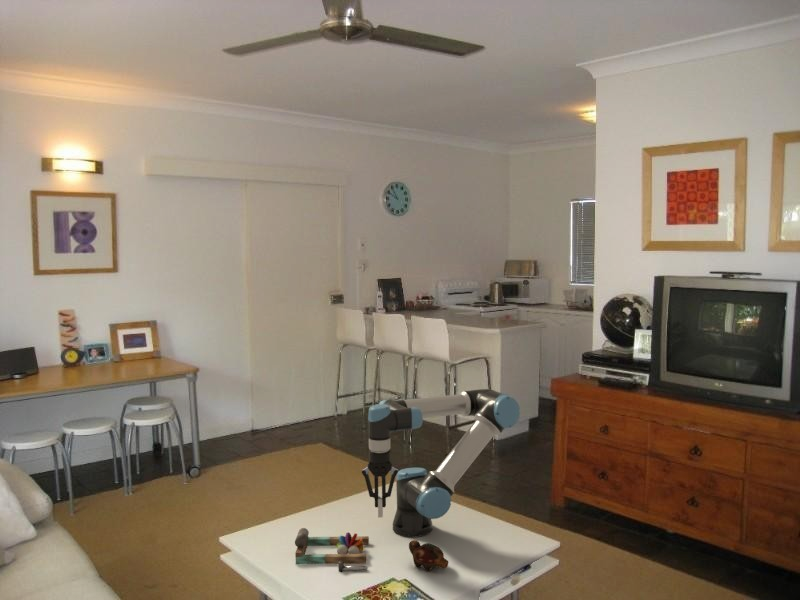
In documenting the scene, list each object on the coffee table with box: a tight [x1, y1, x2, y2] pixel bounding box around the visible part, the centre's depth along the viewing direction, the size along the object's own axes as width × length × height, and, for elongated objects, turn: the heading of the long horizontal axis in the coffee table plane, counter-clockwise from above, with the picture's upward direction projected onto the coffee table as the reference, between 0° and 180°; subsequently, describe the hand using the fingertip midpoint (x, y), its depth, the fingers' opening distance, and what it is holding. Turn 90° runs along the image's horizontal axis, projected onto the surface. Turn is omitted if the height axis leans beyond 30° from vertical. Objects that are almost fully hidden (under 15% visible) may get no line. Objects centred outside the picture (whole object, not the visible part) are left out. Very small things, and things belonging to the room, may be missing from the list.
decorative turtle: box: [408, 539, 449, 572], centre depth 224 cm, size 10×15×8 cm, turn 60°
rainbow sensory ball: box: [336, 532, 365, 554], centre depth 235 cm, size 8×10×7 cm
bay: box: [294, 527, 370, 565], centre depth 235 cm, size 25×16×8 cm, turn 89°
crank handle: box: [337, 561, 369, 573], centre depth 222 cm, size 10×2×3 cm, turn 89°
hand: (380, 515), depth 234 cm, fingers closed
